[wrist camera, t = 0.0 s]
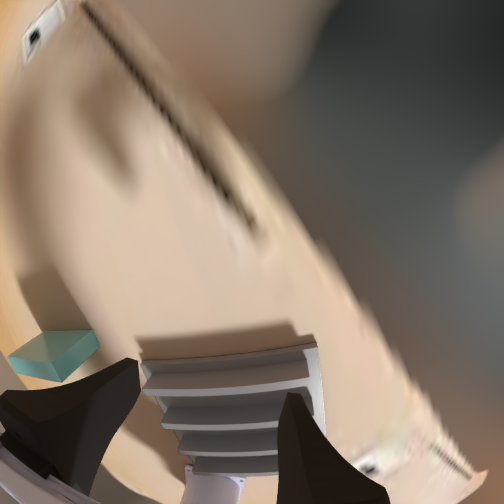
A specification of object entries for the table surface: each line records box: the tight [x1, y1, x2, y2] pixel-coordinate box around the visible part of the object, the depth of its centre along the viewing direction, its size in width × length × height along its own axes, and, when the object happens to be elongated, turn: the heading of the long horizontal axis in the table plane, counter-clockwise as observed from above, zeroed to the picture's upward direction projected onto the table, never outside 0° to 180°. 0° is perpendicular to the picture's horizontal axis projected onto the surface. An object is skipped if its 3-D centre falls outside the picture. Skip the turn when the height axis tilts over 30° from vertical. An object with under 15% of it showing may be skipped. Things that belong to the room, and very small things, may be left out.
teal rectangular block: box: [8, 330, 100, 383], centre depth 20 cm, size 9×2×7 cm, turn 102°
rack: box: [140, 342, 326, 477], centre depth 22 cm, size 16×16×3 cm
